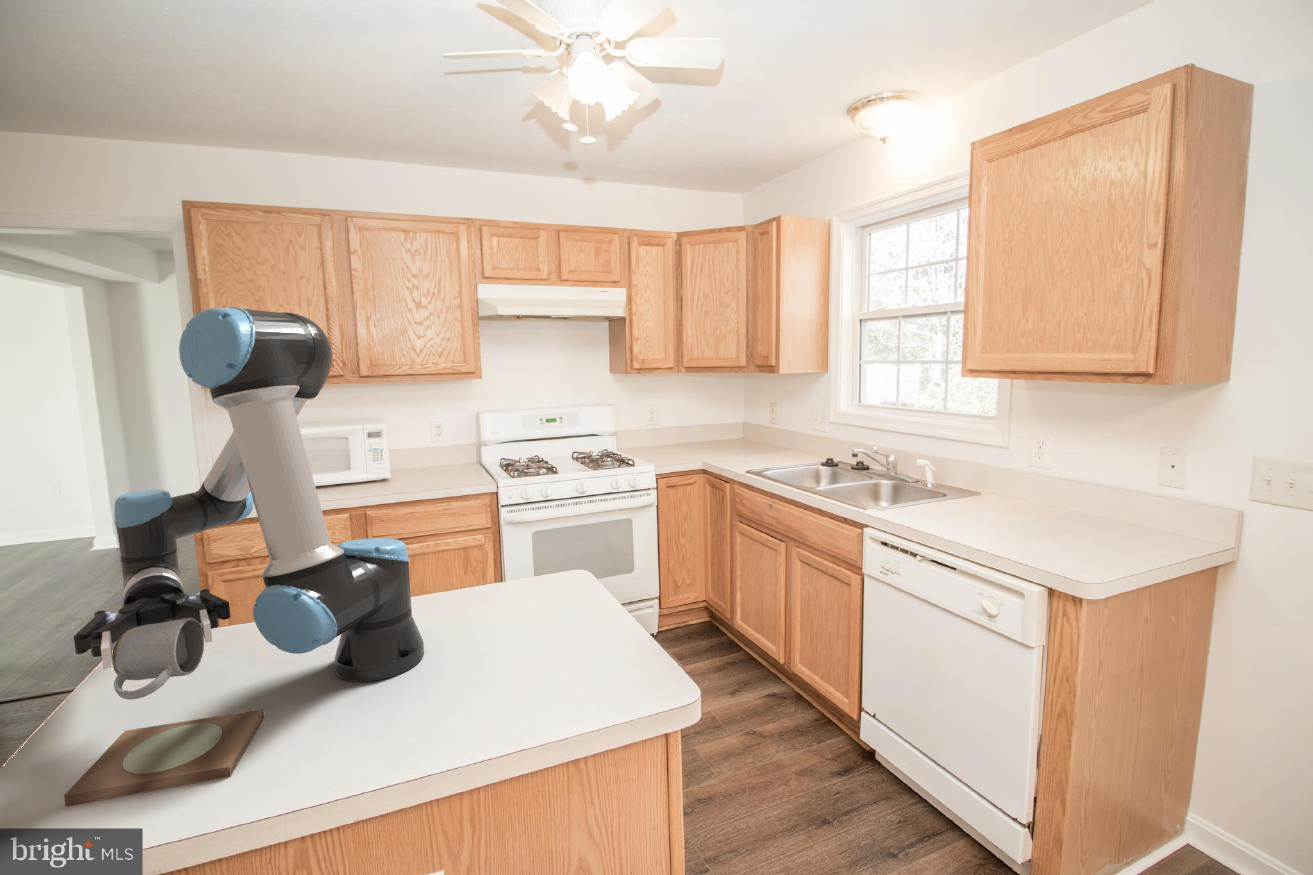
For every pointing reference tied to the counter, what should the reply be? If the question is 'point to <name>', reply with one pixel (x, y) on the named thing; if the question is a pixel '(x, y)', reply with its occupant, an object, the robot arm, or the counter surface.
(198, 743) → the walnut board
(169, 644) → the speckled gray mug
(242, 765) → the counter surface
